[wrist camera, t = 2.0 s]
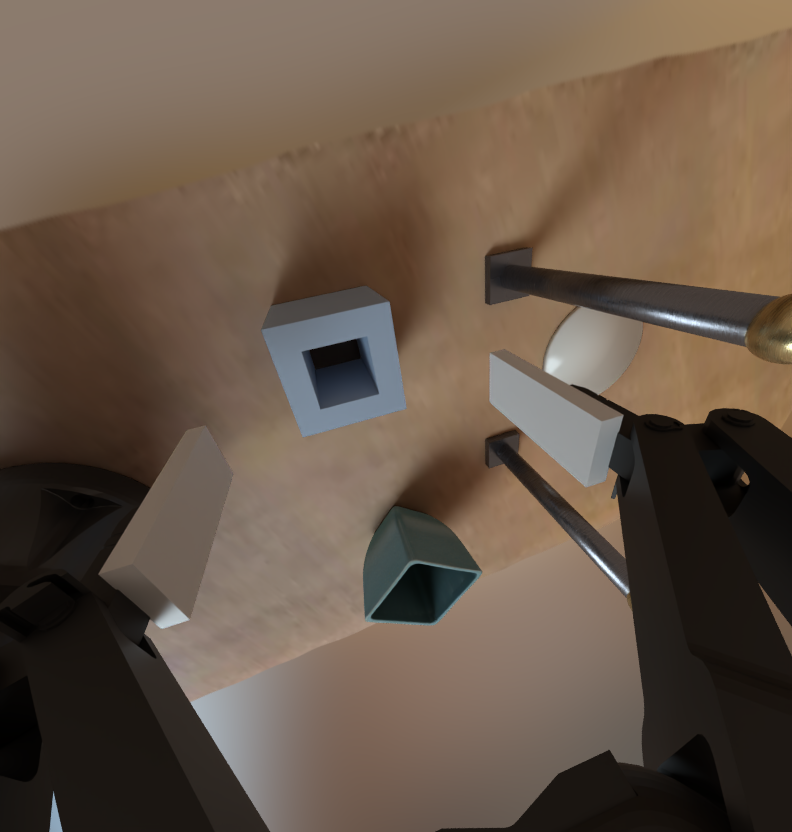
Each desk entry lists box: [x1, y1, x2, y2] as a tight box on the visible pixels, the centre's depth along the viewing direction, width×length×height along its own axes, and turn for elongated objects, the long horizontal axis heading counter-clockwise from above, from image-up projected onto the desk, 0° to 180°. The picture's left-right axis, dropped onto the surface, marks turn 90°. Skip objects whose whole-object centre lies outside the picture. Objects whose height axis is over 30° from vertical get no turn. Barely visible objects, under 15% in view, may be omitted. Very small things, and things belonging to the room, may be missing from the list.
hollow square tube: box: [261, 286, 407, 437], centre depth 21 cm, size 7×7×7 cm
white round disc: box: [543, 306, 643, 395], centre depth 31 cm, size 11×11×1 cm
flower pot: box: [363, 506, 482, 625], centre depth 33 cm, size 9×9×9 cm
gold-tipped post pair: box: [485, 247, 792, 610], centre depth 22 cm, size 4×22×19 cm, turn 9°
